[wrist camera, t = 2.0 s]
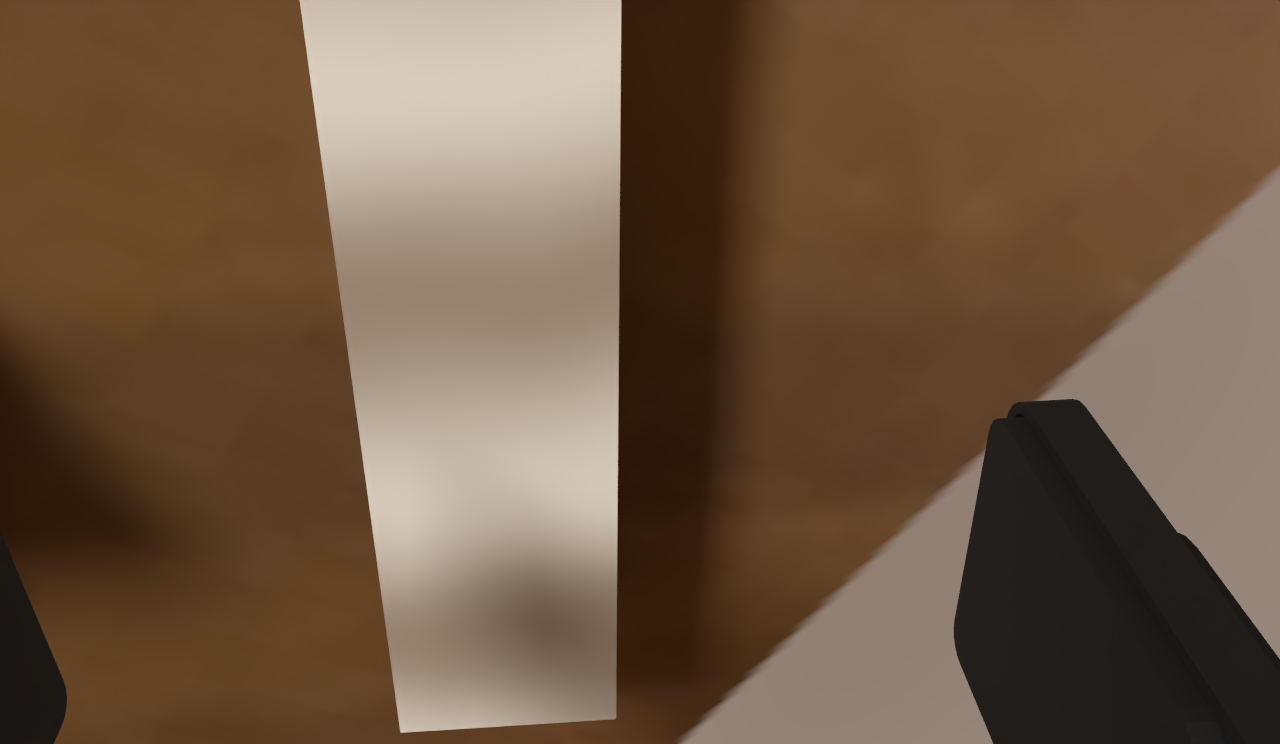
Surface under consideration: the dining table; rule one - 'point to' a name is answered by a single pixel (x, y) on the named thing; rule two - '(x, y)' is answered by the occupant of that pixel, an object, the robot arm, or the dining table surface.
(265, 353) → the dining table surface
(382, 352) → the ash bar
